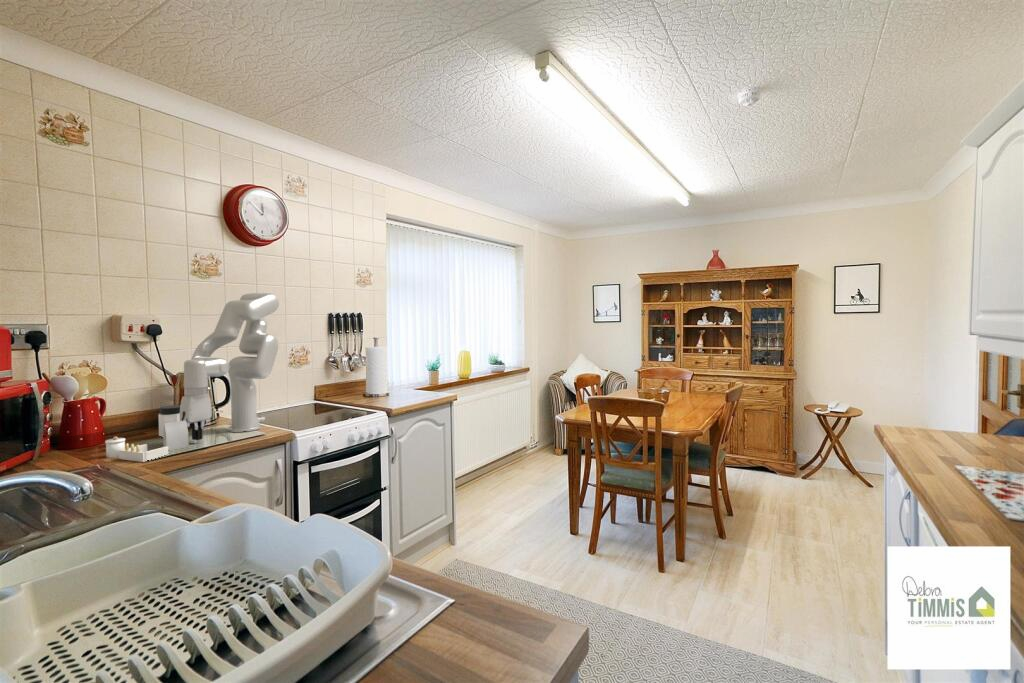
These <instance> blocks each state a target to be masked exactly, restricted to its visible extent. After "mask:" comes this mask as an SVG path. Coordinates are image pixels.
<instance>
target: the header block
mask: <svg viewBox="0 0 1024 683" xmlns="http://www.w3.org/2000/svg"><path fill="white" fill-rule="evenodd" d="M129 446H130V447H129ZM167 454H169V451H168V447H167V446H166V447H163V446H162V447H159V448H155V449H150V450H148V444H147V443H145V444H136V445H135V443H131V444H130V445H129V443H128V442H127V443H126V442H125V449H123V450H119V457H118V458H119V460H125V461H133V462H139V463H145V462H148V461H147V460H149V461H152V460H155V458H156V459H159V458H158V457H160V458H162V457H161V456H163V457H165V456H164V455H167ZM167 456H168V455H167ZM151 459H152V460H151Z"/></svg>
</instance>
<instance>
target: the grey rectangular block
mask: <svg viewBox="0 0 1024 683" xmlns="http://www.w3.org/2000/svg"><path fill="white" fill-rule="evenodd" d="M188 428H189V427H187V422H186V420H184V421H177V422H170V423H164V430H163V438H162V441H163V442H162V443H163V444H162V447H166V446H167V447H168V450H173V451H175V450H174V449H179V450H181V449H180V448H185V447H190V446H189V444H190V443H189V430H188ZM185 449H186V448H185Z"/></svg>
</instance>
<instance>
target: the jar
mask: <svg viewBox="0 0 1024 683" xmlns="http://www.w3.org/2000/svg"><path fill="white" fill-rule="evenodd" d="M180 405H181V404H171V405H165V406H159V408H158V409H159V410H158V411H159V413H158V437H159V436H162V437H163V430H164V423H170V422H177V421H180Z"/></svg>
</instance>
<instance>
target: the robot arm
mask: <svg viewBox="0 0 1024 683" xmlns="http://www.w3.org/2000/svg"><path fill="white" fill-rule="evenodd" d="M279 305H280V300H279V298H278V296H277V295H276V294H274V293H270V292H269V293H268V292H265V293H264V292H263V293H261V292H257V293H256V292H255V293H254V292H253V293H244V294H242V295H241V297H240V298H239V299H238V300H230V301H228V302H227V303H225V305H224V307H223V309H222V312H221V314H220V316H219V319H218V321H217V323H216V326H215V329H214V330H213V332H211V334H209V335H208V336H207V337H205V338H204V339H203V340H202V341H201V342H200V343H199V344H198V345H197V347H196V348H195V349H194V351H193V353H192V356H191V358H190V359H188V360H185V361H184V362H183V386H184V387H183V389H184V392H183V393H184V396H182V397H181V400H180V404H179V405H180V421H184V420H186V422H187V428H189V429H190V430H191V440H193V441H199V440H202V439H203V429H204V428H205V425H206V424H207V423H209V422H211V421H212V420H211V418H212V416H213V410H212V400H211V396H210V393H209V391H210V390H211V389H210V387H209V381H208V380H209V378H210V377H213V378H214V377H215V378H219V377H223V376H225V375H227V374H228V378H229V381H230V382H229V383H230V406H231V407H230V408H231V409H230V411H231V412H230V413H231V414H230V415H231V416H230V417H231V426H228V427H227V429H226V430H228V431H227V432H229V431H230V432H229V433H244V432H243V431H247V432H252V431H253V432H254V431H257V430H260V429H261V427H262V426H261V424H260V422H264V421H266V417H265V416H261V417H259V416H257V415H258V413H257V410H258V409H257V386H256V382H255V381H254V380H262V379H266V378H268V377H269V375H270V374H271V373H272V371H273V370H272V369H273V367H274V365H275V364H274V363H275V361H276V357H277V354H278V350H279V342H278V339H277V337H276V336H275V335H274V334H271V333H267V330H268V322H267V319H266V318H265V317H266V316H267V317H268V315H271V314H273V313H275V312H276V311H277V310H278V308H279ZM244 321H245V326H244V329H243V331H242V335H241V339H240V340H239V344H238V345H239V346H238V348H239V351H240V352H241V353H242V354H244V355H246V356H244V355H243V356H242V355H241V356H236V357H233V358H231V359H230V361H228V360H226V359H224V358H222V357H212V355H213V354H214V352H216V351H217V350H218V349H219V348H221V347H223V346H225V345H228V344H231V343H233V342H234V341H236V340H237V339H238V336H239V334H240V332H241V329H242V327H243V324H244ZM247 355H248V356H247ZM252 355H253V356H252Z"/></svg>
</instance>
